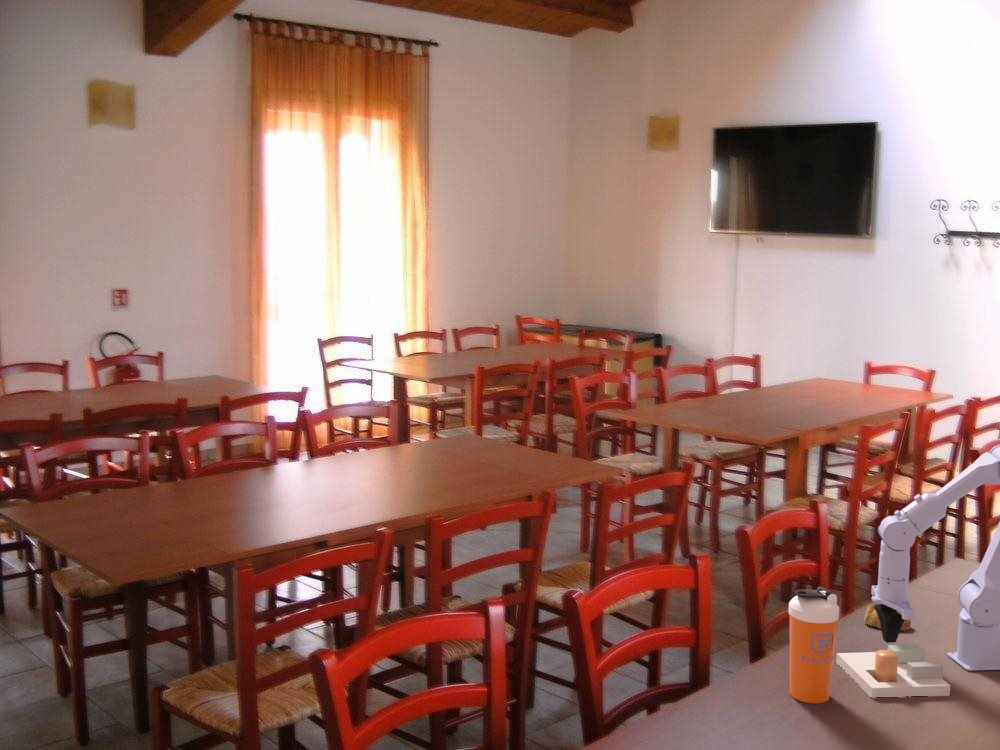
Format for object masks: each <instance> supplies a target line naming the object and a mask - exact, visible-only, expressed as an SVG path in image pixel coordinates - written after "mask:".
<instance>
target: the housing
mask: <svg viewBox="0 0 1000 750" xmlns="http://www.w3.org/2000/svg"><path fill="white" fill-rule="evenodd" d="M875 656H876V651H872V652H871V651H867V652H865V651H864V652H861V651H859V652H836V660H835V661H836V662H835V663H836V664H837V666H839V665H840V666H839V667H840V668H841V667H842V668H841V670H843V671H844V670H845V671H844V672H845V674H846V675H848V674H849V675H850V676H849V675H848V676H849V677H850V678H851V679H852V678H853V679H854V680H855V681H854V680H853V679H852V680H853V681H854V682H855V683H856V684H857V683H858V684H857V685H858V686H859V687H860V689H862V690H863V691H864V693H866V694H867V695H868V696H869V698H871V697H872V698H871V699H877V698H876V697H898V698H906V697H905V696H909V697H908V698H912V697H911V696H928V697H949V696H950V695H951V685H950V684H949V683H948V682H947V681H946V680H944V679H943V669H944V665H942V664H941V663H940V662H939V661H924V662H908V663H903V664H898V668H897V682H880V683H878V682H877V681H876V680H875V679H874V673H875Z"/></svg>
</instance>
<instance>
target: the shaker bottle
mask: <svg viewBox="0 0 1000 750" xmlns="http://www.w3.org/2000/svg"><path fill="white" fill-rule="evenodd" d="M794 594H795V596H794V597H792V599H791V600H789V602H788V612H787V613H788V615H789V694H790V696H791V697H792V698H793V699H795V700H797V701H799V702H802V703H807V704H814V705H816V704H823V703H826V702H828V701H829V700H830V697H831V695H830V694H831V688H832V687H831V686H832V678H833V677H832V676H833V669H834V668H833V667H834V659H835V658H834V657H835V648H836V638H837V629H838V628H837V627H838V621H839V619H840V606H839V605H838V604H837V602H838V596H837V595H836V594H835V593H833V592H832V591H830V590H829V589H827V588H824V587H822V586H818V587H817V589H805V588H804V589H796V590H795V591H794Z"/></svg>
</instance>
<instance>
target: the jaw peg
mask: <svg viewBox="0 0 1000 750" xmlns="http://www.w3.org/2000/svg"><path fill="white" fill-rule="evenodd" d="M875 652H876V656H875V673H874V679H875V680H876V681H877V682H878V683H880V682H897V668H898V654H897V653H895V652H893V651H890V650H888V649H878V650H876V651H875Z"/></svg>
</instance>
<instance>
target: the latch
mask: <svg viewBox="0 0 1000 750" xmlns="http://www.w3.org/2000/svg"><path fill="white" fill-rule="evenodd" d="M887 650H890V651H893V652H895V653H897V654H898V664H903V663H908V662H925V653H926V652H925V649H923V648H922V647H921V646H919V645H918V644H896V645H895V644H891V645H888V644H887Z"/></svg>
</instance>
